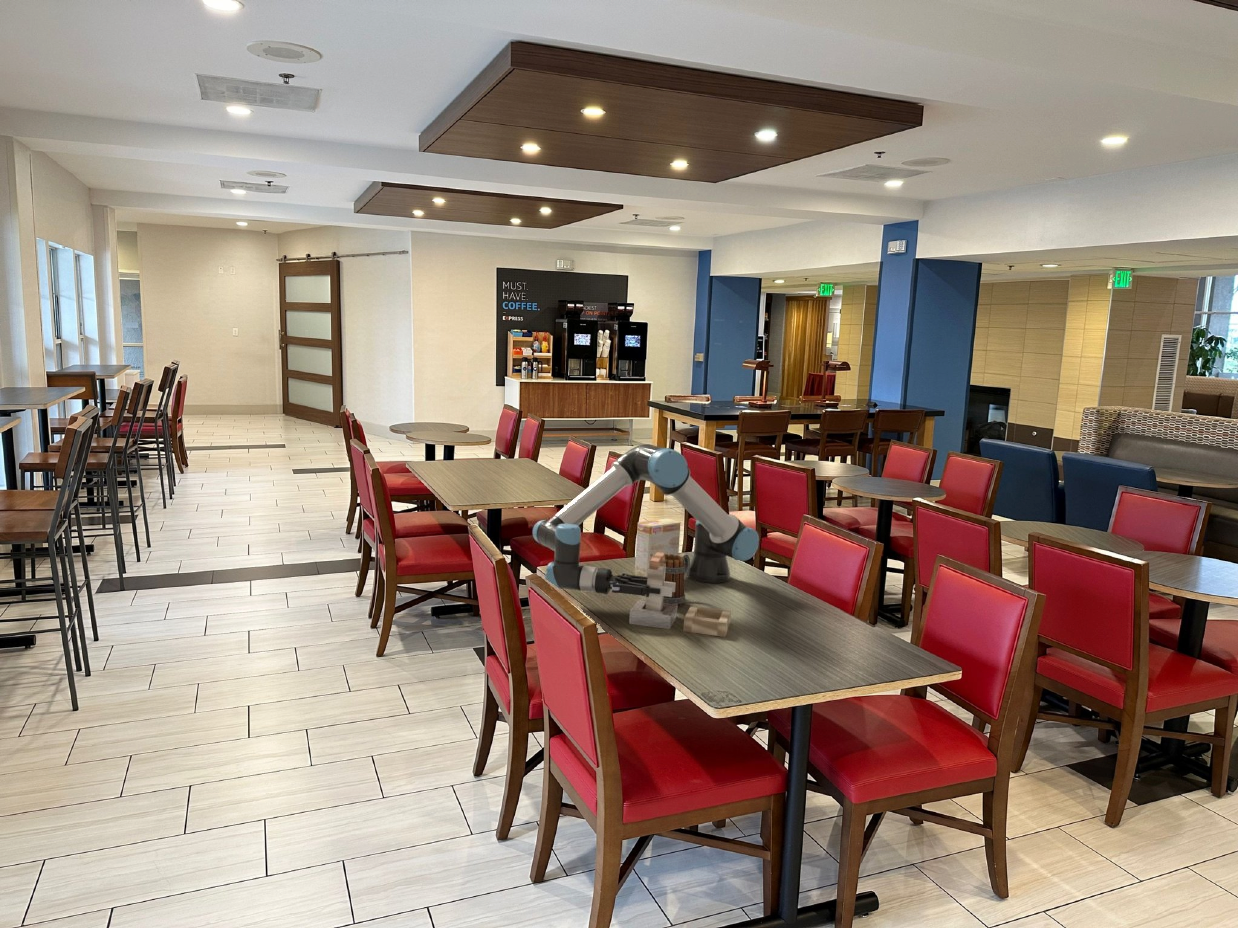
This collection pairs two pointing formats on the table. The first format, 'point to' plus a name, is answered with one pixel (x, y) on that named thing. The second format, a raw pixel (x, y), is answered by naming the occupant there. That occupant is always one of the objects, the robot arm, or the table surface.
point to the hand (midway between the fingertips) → (673, 589)
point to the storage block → (707, 621)
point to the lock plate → (653, 615)
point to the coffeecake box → (655, 542)
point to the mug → (676, 576)
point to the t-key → (656, 581)
